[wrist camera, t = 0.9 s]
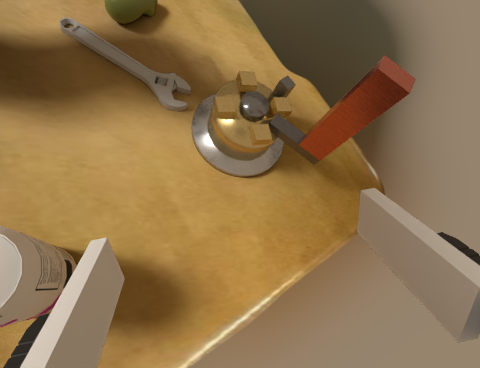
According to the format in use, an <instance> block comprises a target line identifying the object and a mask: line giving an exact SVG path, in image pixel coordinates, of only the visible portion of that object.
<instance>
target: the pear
mask: <svg viewBox="0 0 480 368" xmlns="http://www.w3.org/2000/svg"><path fill="white" fill-rule="evenodd" d="M157 2H158V1H157V0H105V7H106V10H107V12H108V14H109V15H110V16H111V17H112V18H113V19H114V20H115V21H117V22H119V23H123V24H127V23H130V22H133V21H134V20H136V19H137V18H139V17H140V16H141V15H142V14H146V15H149V16H152V15H154V14H155V9H156V6H157Z"/></svg>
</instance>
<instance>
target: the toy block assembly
mask: <svg viewBox="0 0 480 368" xmlns="http://www.w3.org/2000/svg"><path fill="white" fill-rule="evenodd" d="M236 79H237V80H233V81H230V82H228V83H226V84H224V85H223V86H222V87H221V88H220V89H219V91H218V92H217V94H216V97H215V98H214V101H213V106H212V109H211V112H210V115H209V118H208V123H207V129H208V134H209V137H210V139H211V141H212V143H213V144H214V145H215V147H216V148H217V149H218V150H219V151H220V152H222V153H223V154H225V155H226V156H228V157H230V158H233V159H236V160H241V161H250V160H254V159H257V158H259V157H261V156H262V155H264V154H265V153H266V152H267V150H268V149H269V148H270V147H271V146H272V145H273V143H274V142H275V141H276V140H277V139H278V138H279V139H281V140H282V141H283V142H285V143H286V144H287V145H289V146H290V147H291V148H293V149H294V150H295V151H297V152H298V153H299V154H301V155H302V156H303V157H305V158H306V159H307V160H309V161H310V162H311V163H313V164H316V163H317V162H318V161H320V160H321V159H323V158H324V157H325V156H327V155H328V154H329V153H331V152H332V151H333V150H335V149H336V148H337V147H339V146H340V145H341V144H343V143H344V142H345V141H347V140H348V139H349V138H351V137H352V136H353V135H355V134H356V133H357V132H359V131H360V130H361V129H363V128H364V127H365V126H367V125H368V124H369V123H370V122H372V121H373V120H375V119H376V118H377V117H379V116H380V115H381V114H383V113H384V112H385V111H387V110H388V109H389V108H390V107H392V106H393V105H395V104H396V103H397V102H399V101H400V100H401V99H403V98H404V97H405V96H407V95H408V94H409V93H410V92H411V89H412V87H413V84H414V82H415V78H414V77H412V76H411V75H410V74H408V73H407V72H406V71H404V70H403V69H402V68H400V67H399V66H398V65H396V64H395V63H394V62H393V61H392V60H390V59H389V58H388V57H386V56H384V57H383V58H382V59H381V60H380V61H379V62H378V63H377V64H376V65H375V66H374V67H373V68H372V69H371V70H370V71H369V72H368V73H367V74H366V75H365V76H364V77H363V78H362V79H361V80H360V81H359V82H358V83H357V84H356V85H355V86H354V87H353V88H352V89H351V90H350V91H349V92H348V93H347V94H346V95H345V96H344V97H343V98H342V99H341V100H340V101H339V102H338V103H337V104H336V105H335V106H333V107H332V108H331V109H330V110H329V111H328V112H327V113H326V114H325V115H324V116H323V117H322V118H321V119H320V120H319V121H318V122H317V123H316V124H315V125H314V126H313V127H312V128H311V129H310V130H309V131H308V132H307V133H306V134H304V133H303V132H302V131H300V130H299V129H298V128H296V127H295V126H294V125H292V124H291V123H290V122H288V121H287V120H286V117H288V116H289V115H290V113H291V112H292V109H291V106H290V102H289V99H288V97H278V96H277V95H276V94H275V93H274V92H273V91H272V90H271V89H270V88H268V87H267V86H265V85H263V84H261V83H259V82H257V80H256V77H255V73H254V72H244V71H239V73H238V75H237V78H236ZM249 91H257V92H259V93H261V94H263V95H264V96H265V97H266V98H267V100H268V102H269V110H268V112H267V113H266V115H265V116H264V118H263V119H262V120H260V121H250V120H248V119H246V118H245V117H244V116H243V115H242V114H241V112H240V110H239V104H240V101H241V99H242V97H243V95H244V94H245V93H246V92H249Z"/></svg>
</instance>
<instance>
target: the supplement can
mask: <svg viewBox="0 0 480 368" xmlns="http://www.w3.org/2000/svg"><path fill="white" fill-rule="evenodd" d="M76 267H77V265H76V263H75V261H74V259H73V257H72V256H71V255H70V254H68V253H67V252H66V251H65V250H64V249H61V248H59V247H56V246H54V245H51V244H49V243H46V242H44V241H41V240H39V239H36V238H34V237H31V236H29V235H26V234H24V233H21V232H18V231H15V230H12V229H9V228H6V227H3V226H0V327H3V326H7V325H11V324H14V323H18V322H21V321H25V320H29V319H32V318H36V317H39V316H40V315H45V314H47V313H50V312H51V311H52V310H53V308H54V306H55V304H56V303H57V301H58V299H59V297H60V295H61V294H62V292H63V290H64V288H65V286H66V285H67V283H68V281H69V279H70V278H71V276H72V274H73V272H74V270H75V269H76Z"/></svg>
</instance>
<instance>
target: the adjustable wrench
mask: <svg viewBox="0 0 480 368" xmlns="http://www.w3.org/2000/svg"><path fill="white" fill-rule="evenodd" d="M59 24H60V27H61V30H62V31H63V32H64V33H66V34H67V35H69V36H71V37H72V38H74V39H75V40H77V41H79V42H80V43H82V44H83V45H85V46H87V47H88V48H90V49H92V50H93V51H95V52H96V53H98V54H100V55H101V56H103V57H105V58H106V59H108V60H109V61H111V62H113V63H114V64H116V65H118V66H119V67H121V68H122V69H124V70H126V71H127V72H129V73H131V74H132V75H134V76H135V77H137V78H139V79H140V80H142V81H143V82H145V83H146V84H147V85H148V86H149V87H150V89H151V90H152V91H153V92H154V94H155V95H156V97H157V98H158V100H159V101H160V103H161V104H162V105H163V106H164V107H165V108H167V109H169V110H172V111H182V110H185V109H187V105H188V103H186V102H182V101H179V100H175V99H174V97H173V95H172V92H173V91H174V90H177V91H178V92H182V93H185V94H189V95H190V91H191V87H190V86H189V84H188V83H187V82H186V81H185V80H184V79H182V78H181V77H179V76H177V75H176V73H169V74H166V73H159V72H155V71H153V70H151V69H149V68H147V67H146V66H144V65H143V64H141V63H140V62H138V61H137V60H135V59H134V58H132V57H131V56H129V55H127V54H126V53H124V52H123V51H121V50H120V49H118V48H117V47H115V46H114V45H112V44H111V43H109V42H107V41H106V40H104V39H103V38H101V37H100V36H98V35H97V34H95V33H94V32H92V31H91V30H89V29H88V28H86V27H84V26H83V25H81V24H80V23H78V22H77V21H75V20H74V19H72V18H62V19H61V20H60V21H59ZM67 24H71V25H73V26H74V27H73V28H65V27H64V26H65V25H67ZM156 80H157V82H156Z"/></svg>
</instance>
